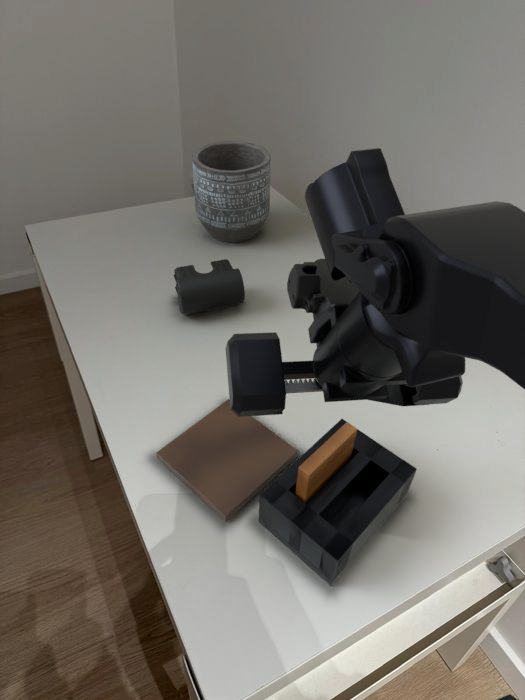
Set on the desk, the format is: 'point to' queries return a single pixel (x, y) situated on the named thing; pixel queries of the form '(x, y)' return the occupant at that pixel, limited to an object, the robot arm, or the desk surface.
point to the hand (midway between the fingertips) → (317, 395)
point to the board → (226, 459)
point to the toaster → (337, 506)
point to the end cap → (208, 287)
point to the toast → (325, 463)
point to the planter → (232, 189)
